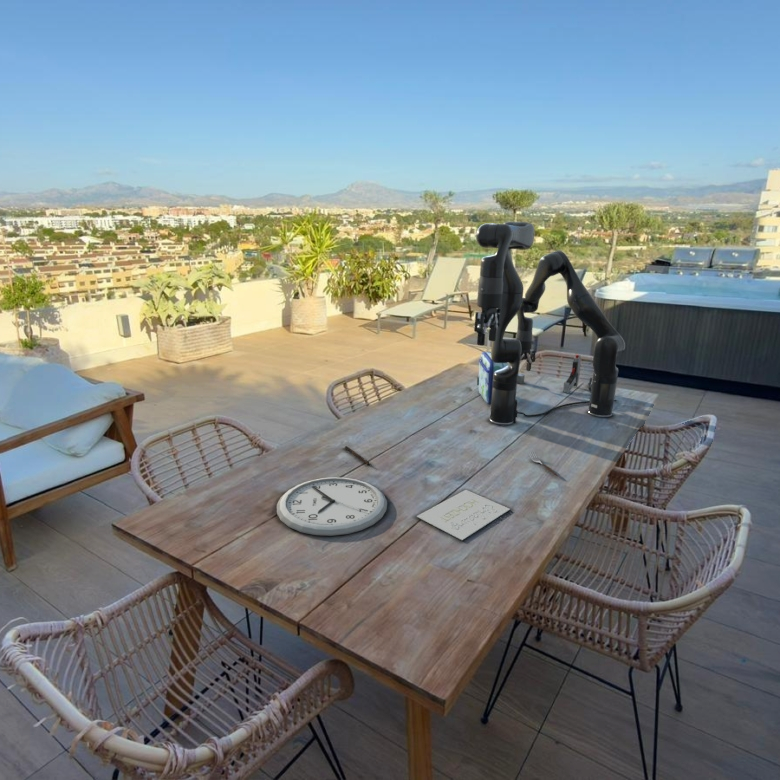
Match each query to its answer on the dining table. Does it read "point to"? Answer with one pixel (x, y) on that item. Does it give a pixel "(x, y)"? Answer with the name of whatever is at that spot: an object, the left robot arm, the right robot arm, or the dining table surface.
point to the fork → (541, 463)
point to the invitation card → (463, 514)
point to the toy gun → (573, 375)
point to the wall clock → (331, 506)
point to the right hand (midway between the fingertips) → (521, 371)
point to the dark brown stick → (357, 455)
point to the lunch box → (487, 375)
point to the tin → (520, 378)
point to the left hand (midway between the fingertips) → (486, 342)
